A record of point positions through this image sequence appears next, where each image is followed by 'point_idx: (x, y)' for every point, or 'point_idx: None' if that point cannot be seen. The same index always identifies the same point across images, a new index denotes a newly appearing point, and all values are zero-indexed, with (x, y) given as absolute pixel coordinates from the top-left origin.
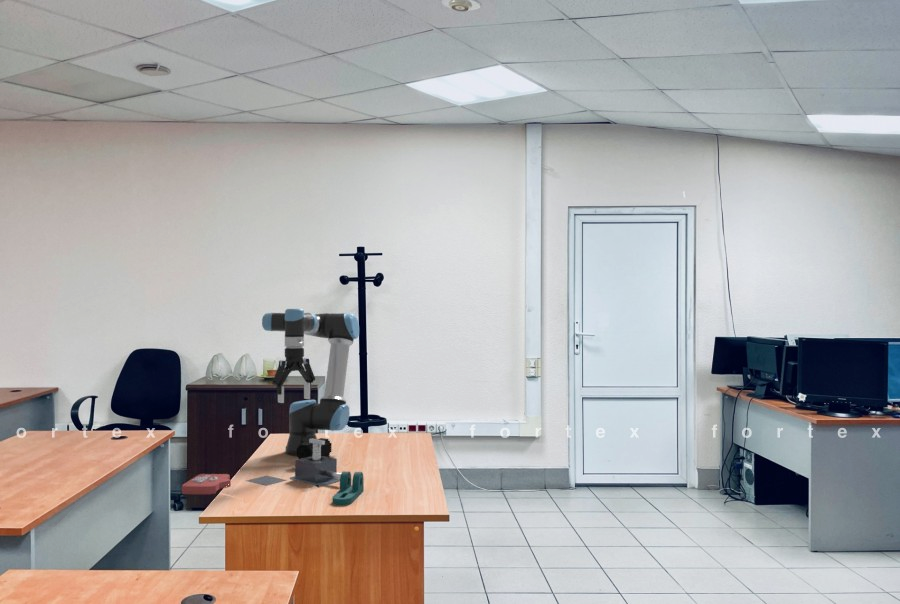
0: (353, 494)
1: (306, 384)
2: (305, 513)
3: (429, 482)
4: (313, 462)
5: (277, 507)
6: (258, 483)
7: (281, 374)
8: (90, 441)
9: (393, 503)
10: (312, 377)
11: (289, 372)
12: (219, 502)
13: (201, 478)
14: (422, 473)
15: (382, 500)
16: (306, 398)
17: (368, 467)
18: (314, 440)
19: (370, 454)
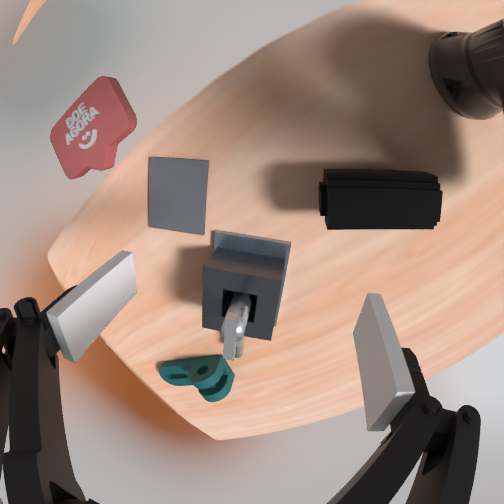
0: (188, 384)
1: (379, 400)
2: (119, 350)
3: (325, 415)
4: (210, 317)
5: None
6: (150, 200)
7: (4, 417)
8: None
9: (212, 411)
10: (420, 467)
11: (68, 478)
12: (67, 225)
13: (77, 122)
14: None
15: None
16: (360, 315)
17: (395, 310)
18: (225, 334)
19: (496, 247)
